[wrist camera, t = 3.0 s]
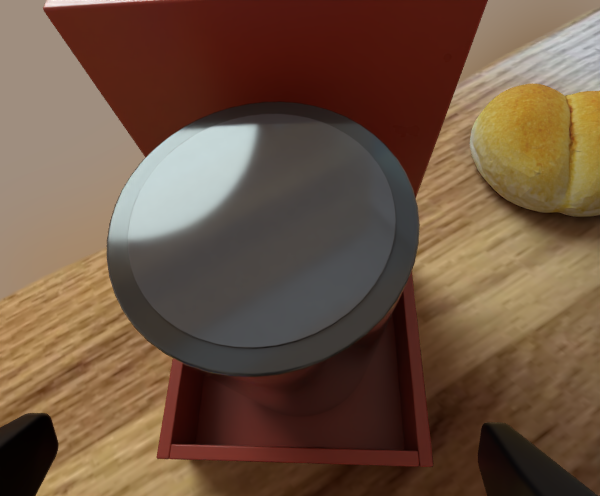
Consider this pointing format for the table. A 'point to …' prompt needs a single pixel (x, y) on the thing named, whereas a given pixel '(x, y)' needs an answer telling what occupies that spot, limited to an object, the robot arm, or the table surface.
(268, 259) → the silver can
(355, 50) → the red box lid
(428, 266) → the table surface
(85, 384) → the table surface
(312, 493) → the table surface
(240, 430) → the open red box
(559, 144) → the bread roll
